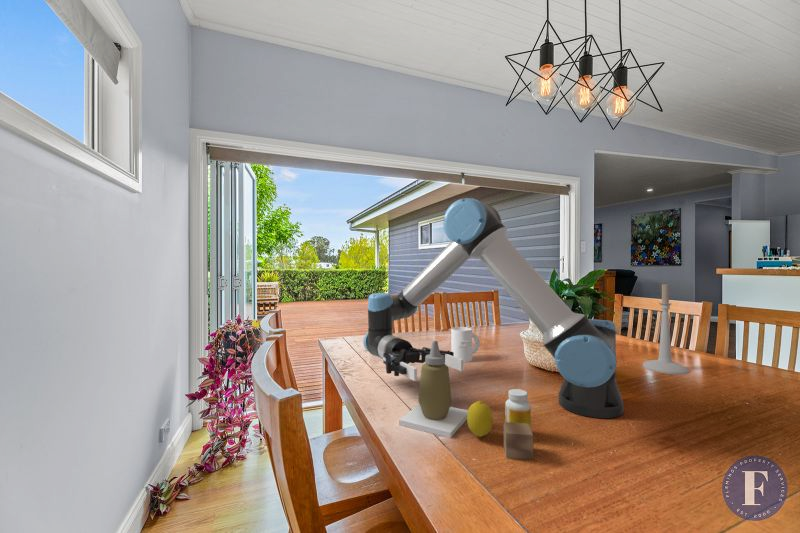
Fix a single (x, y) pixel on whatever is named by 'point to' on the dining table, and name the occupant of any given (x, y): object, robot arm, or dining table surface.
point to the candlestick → (665, 343)
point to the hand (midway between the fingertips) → (440, 370)
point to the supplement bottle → (518, 407)
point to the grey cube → (518, 441)
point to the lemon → (479, 418)
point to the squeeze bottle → (435, 385)
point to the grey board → (435, 421)
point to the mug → (463, 343)
